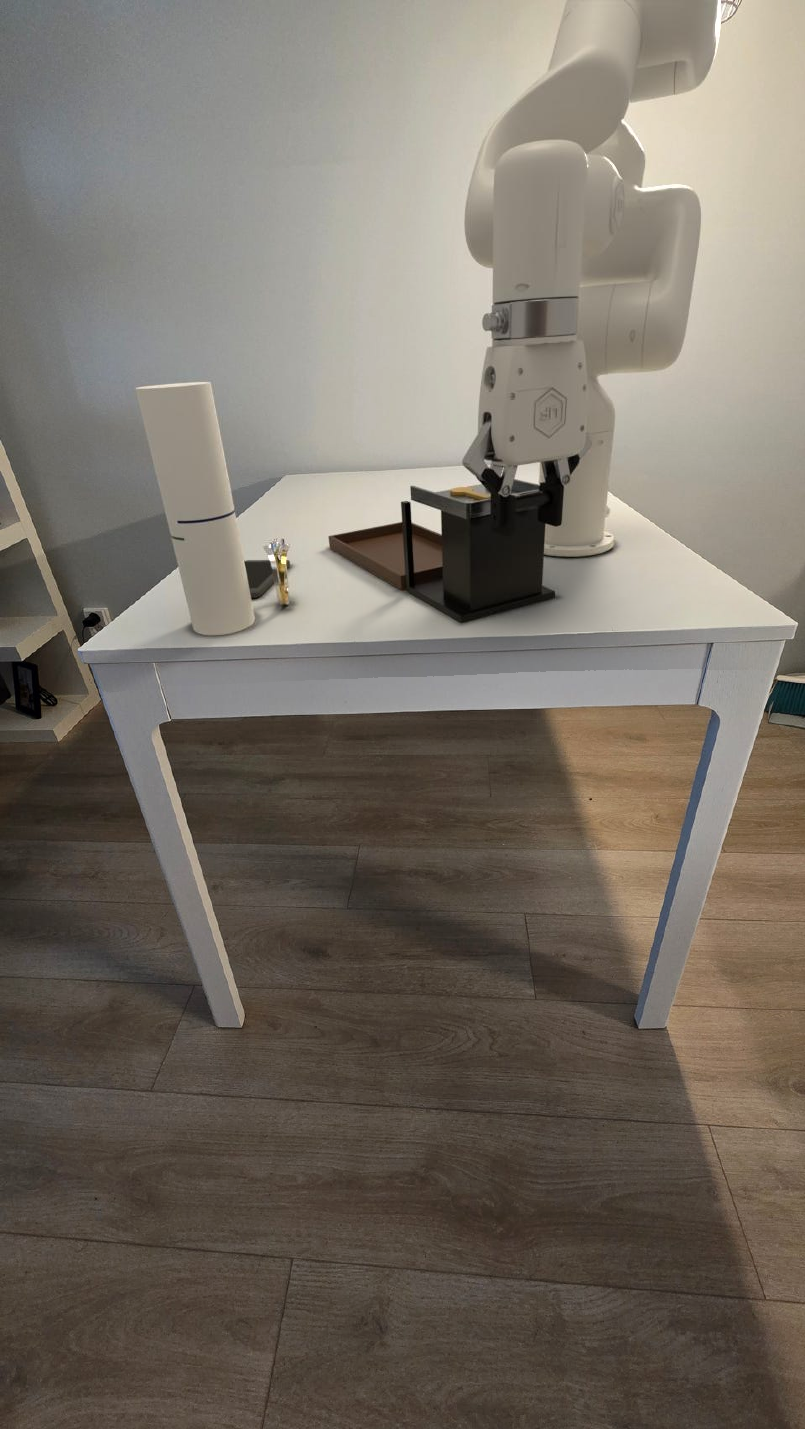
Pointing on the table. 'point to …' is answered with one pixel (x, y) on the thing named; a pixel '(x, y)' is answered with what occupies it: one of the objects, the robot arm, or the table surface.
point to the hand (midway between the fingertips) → (526, 527)
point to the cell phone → (260, 576)
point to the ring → (279, 568)
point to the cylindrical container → (198, 504)
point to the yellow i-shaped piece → (469, 493)
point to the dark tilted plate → (473, 507)
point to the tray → (392, 552)
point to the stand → (481, 565)
